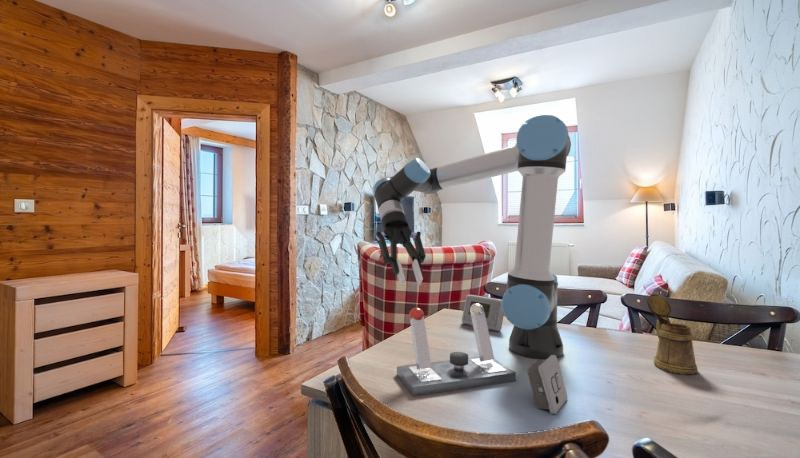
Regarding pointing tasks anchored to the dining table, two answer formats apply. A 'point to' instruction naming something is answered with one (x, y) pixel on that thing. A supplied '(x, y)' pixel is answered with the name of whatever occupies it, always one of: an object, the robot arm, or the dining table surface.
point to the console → (454, 376)
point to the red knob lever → (419, 339)
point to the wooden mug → (672, 340)
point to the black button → (459, 358)
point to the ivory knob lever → (481, 333)
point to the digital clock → (485, 311)
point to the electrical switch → (547, 384)
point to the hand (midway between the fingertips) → (411, 282)
